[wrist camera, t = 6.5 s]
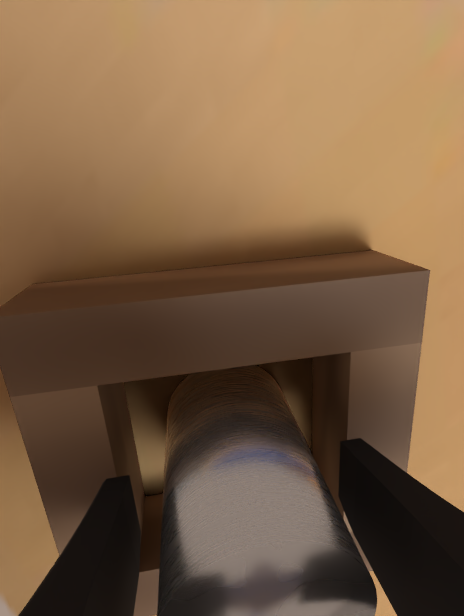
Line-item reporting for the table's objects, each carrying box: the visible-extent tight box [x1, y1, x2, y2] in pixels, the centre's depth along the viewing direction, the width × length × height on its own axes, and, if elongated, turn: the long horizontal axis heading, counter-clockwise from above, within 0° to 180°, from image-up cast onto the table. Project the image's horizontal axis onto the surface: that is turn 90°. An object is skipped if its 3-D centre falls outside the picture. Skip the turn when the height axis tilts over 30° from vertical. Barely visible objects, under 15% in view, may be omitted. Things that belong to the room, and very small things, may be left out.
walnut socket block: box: [0, 250, 430, 616], centre depth 12 cm, size 11×11×3 cm
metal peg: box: [157, 365, 377, 616], centre depth 10 cm, size 4×4×7 cm
